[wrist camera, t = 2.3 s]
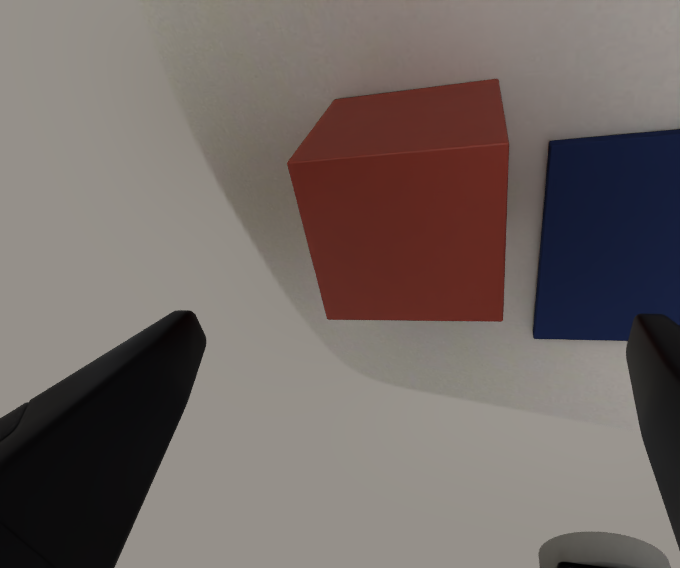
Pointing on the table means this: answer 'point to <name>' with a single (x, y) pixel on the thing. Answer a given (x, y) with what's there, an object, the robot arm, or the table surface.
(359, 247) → the red block
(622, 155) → the blue mat
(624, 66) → the table surface
